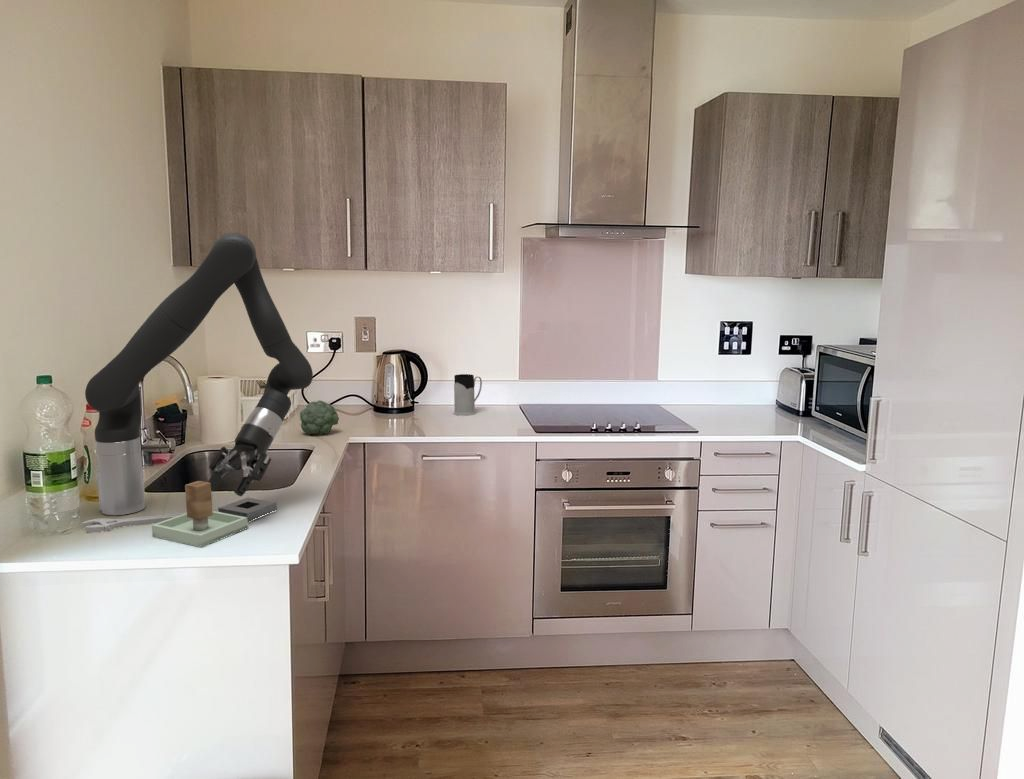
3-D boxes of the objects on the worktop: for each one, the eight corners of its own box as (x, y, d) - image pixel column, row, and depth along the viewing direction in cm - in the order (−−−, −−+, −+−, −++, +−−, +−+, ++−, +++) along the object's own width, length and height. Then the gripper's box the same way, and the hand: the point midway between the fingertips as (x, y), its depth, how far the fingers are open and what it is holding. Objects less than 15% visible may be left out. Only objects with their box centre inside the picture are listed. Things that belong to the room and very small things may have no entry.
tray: (152, 536, 160) (151, 525, 160) (200, 518, 171) (199, 508, 171) (201, 547, 154) (200, 535, 153) (248, 528, 165) (247, 517, 164)
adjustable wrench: (206, 516, 175) (206, 509, 174) (203, 525, 169) (203, 518, 168) (86, 526, 168) (85, 518, 168) (78, 536, 162) (78, 528, 161)
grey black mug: (448, 413, 294) (448, 375, 292) (473, 408, 305) (473, 371, 302) (465, 416, 289) (464, 377, 286) (489, 411, 299) (489, 373, 297)
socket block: (218, 517, 173) (218, 507, 172) (248, 506, 180) (248, 497, 180) (247, 522, 169) (247, 513, 168) (277, 511, 176) (276, 502, 176)
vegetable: (349, 422, 268) (340, 411, 253) (324, 449, 265) (313, 439, 250) (324, 401, 270) (314, 389, 256) (299, 428, 267) (287, 417, 253)
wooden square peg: (188, 529, 162) (184, 484, 160) (201, 524, 165) (198, 480, 163) (199, 532, 160) (196, 487, 158) (213, 527, 163) (210, 482, 162)
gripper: (227, 419, 176) (190, 479, 168) (272, 424, 170) (236, 487, 161) (246, 437, 181) (211, 496, 173) (291, 443, 175) (257, 504, 167)
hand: (223, 491), depth 167 cm, fingers open, 8 cm apart
